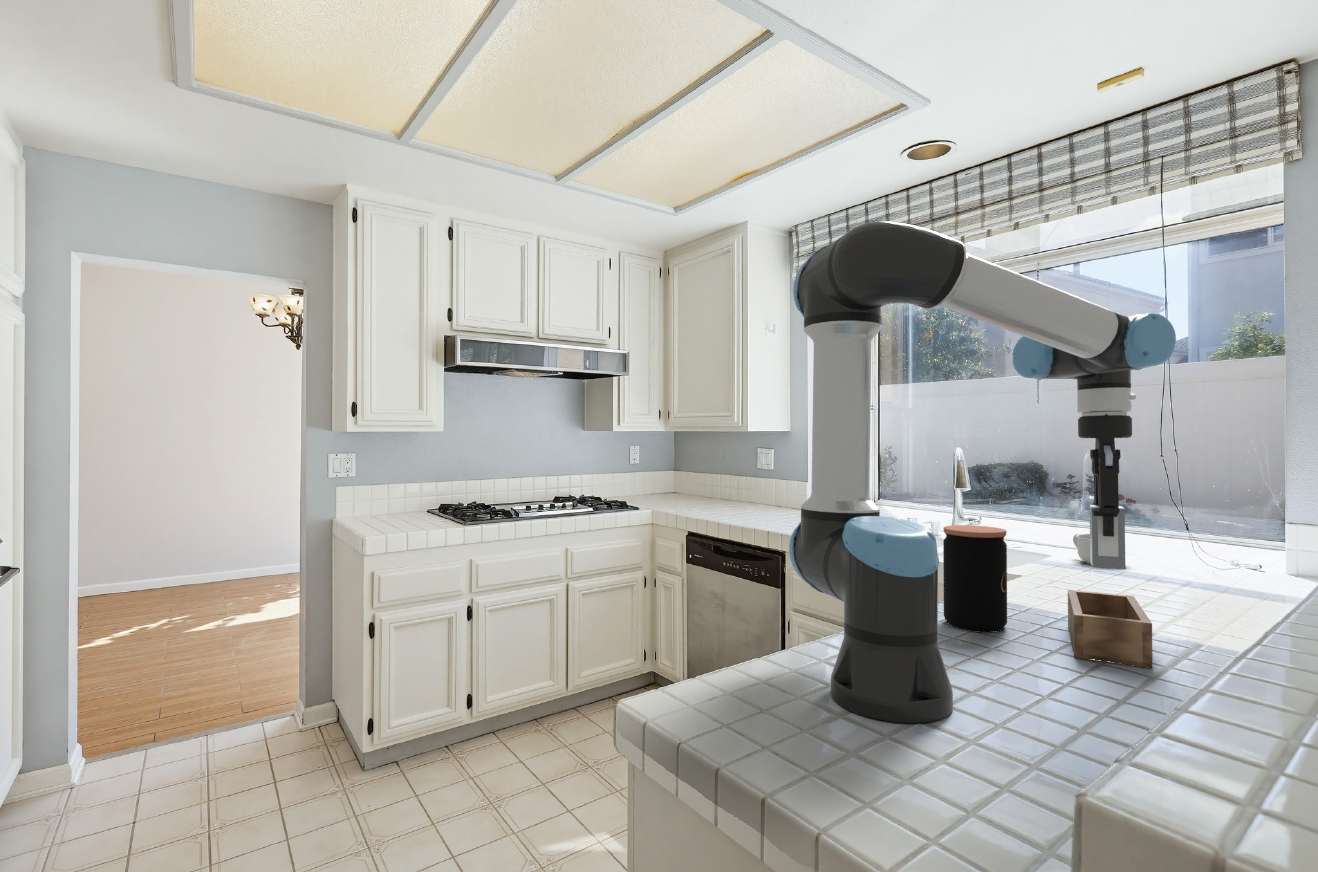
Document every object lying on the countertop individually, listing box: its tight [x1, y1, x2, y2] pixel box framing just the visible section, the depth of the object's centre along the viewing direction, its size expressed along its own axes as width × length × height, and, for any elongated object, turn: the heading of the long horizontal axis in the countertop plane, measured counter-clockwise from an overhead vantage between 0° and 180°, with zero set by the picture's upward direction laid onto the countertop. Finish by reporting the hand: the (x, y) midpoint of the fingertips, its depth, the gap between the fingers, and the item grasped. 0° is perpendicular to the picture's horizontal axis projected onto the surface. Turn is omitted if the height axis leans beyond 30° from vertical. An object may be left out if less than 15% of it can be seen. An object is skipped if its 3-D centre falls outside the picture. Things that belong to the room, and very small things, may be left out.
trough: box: [1067, 589, 1153, 669], centre depth 109 cm, size 10×21×7 cm, turn 150°
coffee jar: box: [942, 524, 1008, 633], centre depth 121 cm, size 11×11×18 cm
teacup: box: [1072, 533, 1091, 565], centre depth 186 cm, size 14×11×8 cm
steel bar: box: [1089, 504, 1126, 571], centre depth 109 cm, size 4×4×10 cm
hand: (1106, 553), depth 109 cm, fingers closed on steel bar, 4 cm apart
